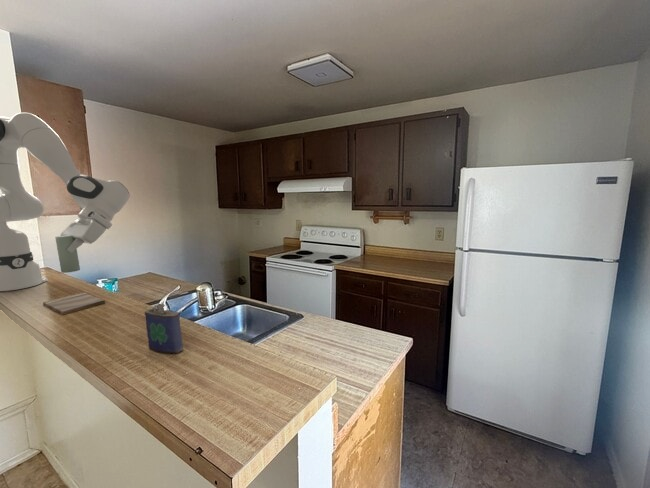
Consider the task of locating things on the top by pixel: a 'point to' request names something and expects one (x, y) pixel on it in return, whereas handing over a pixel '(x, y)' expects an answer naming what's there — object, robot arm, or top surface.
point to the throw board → (73, 303)
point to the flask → (163, 330)
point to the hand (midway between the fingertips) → (64, 250)
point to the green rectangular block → (67, 254)
